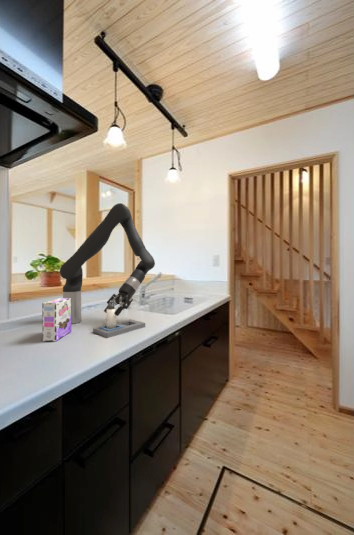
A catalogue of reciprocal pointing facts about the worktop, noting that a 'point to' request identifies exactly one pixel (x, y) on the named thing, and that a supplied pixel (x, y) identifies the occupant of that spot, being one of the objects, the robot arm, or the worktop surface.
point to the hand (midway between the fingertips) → (110, 313)
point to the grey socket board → (119, 328)
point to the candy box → (56, 319)
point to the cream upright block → (111, 317)
